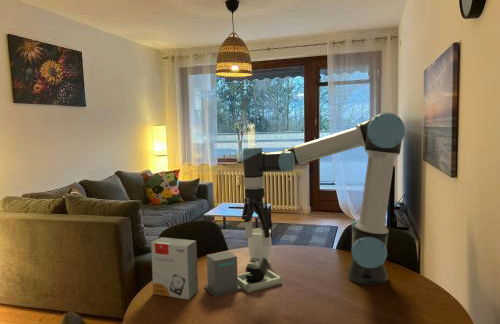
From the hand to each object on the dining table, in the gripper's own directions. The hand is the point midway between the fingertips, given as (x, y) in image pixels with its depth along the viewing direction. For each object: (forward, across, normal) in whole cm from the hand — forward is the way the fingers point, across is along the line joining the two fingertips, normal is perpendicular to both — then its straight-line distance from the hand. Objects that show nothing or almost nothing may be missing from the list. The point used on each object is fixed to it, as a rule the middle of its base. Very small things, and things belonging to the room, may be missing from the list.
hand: (257, 241), depth 146 cm
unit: (+16, +3, +15) cm, 22 cm away
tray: (+16, +1, +1) cm, 17 cm away
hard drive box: (+16, +9, +31) cm, 36 cm away
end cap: (+15, +1, 0) cm, 15 cm away
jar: (+17, +19, -11) cm, 27 cm away
